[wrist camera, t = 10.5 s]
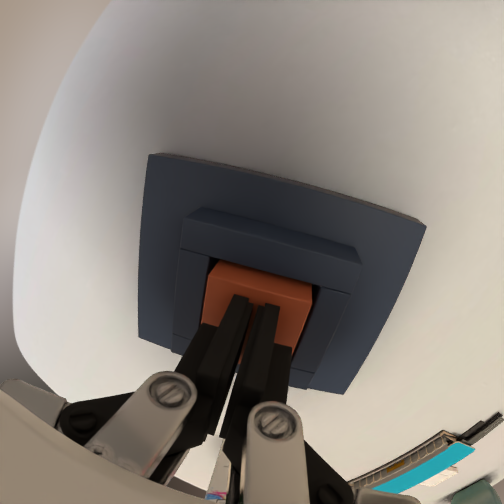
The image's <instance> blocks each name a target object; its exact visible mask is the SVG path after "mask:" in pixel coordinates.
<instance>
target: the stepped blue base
mask: <svg viewBox="0 0 504 504" xmlns="http://www.w3.org/2000/svg"><path fill="white" fill-rule="evenodd" d="M425 230H426V225H424V224H423V223H422V222H420V221H419V220H418V219H416V218H413V217H410V216H407V215H404V214H402V213H399V212H396V211H393V210H390V209H387V208H384V207H381V206H378V205H375V204H372V203H369V202H366V201H363V200H359V199H356V198H353V197H350V196H346V195H343V194H340V193H336V192H333V191H329V190H326V189H322V188H319V187H315V186H312V185H308V184H304V183H301V182H297V181H293V180H289V179H285V178H281V177H277V176H273V175H269V174H265V173H261V172H256V171H252V170H248V169H243V168H239V167H234V166H229V165H224V164H220V163H215V162H210V161H204V160H199V159H194V158H188V157H183V156H177V155H171V154H165V153H156V154H149V156H148V163H147V170H146V178H145V186H144V196H143V206H142V217H141V230H140V246H139V269H138V335H139V338H142V339H144V340H147V341H149V342H152V343H154V344H157V345H160V346H162V347H165V348H168V349H171V352H173V353H176V354H179V355H182V356H183V355H184V353H185V351H186V350H187V348H188V346H189V344H190V342H191V341H192V339H193V337H194V335H195V334H196V332H197V330H198V328H199V327H200V325H201V320H202V313H203V307H204V300H205V293H206V287H207V281H208V275H209V274H210V273H211V271H212V270H213V268H214V267H215V266H216V264H217V263H218V261H219V260H220V259H222V260H226V261H230V262H233V263H237V264H241V265H244V266H248V267H252V268H255V269H259V270H263V271H266V272H270V273H274V274H277V275H281V276H285V277H289V278H292V279H296V280H300V281H304V282H308V283H311V284H312V305H311V308H310V311H309V313H308V316H307V319H306V321H305V324H304V326H303V329H302V332H301V334H300V337H299V339H298V342H297V344H296V347H295V349H294V352H293V354H292V358H291V367H290V376H289V385H288V386H290V387H295V388H300V389H304V390H307V388H309V389H314V390H319V391H325V392H330V393H336V394H342V395H343V394H344V393H345V392H346V390H347V389H348V387H349V385H350V384H351V382H352V381H353V379H354V378H355V376H356V374H357V373H358V371H359V369H360V368H361V366H362V364H363V363H364V361H365V359H366V357H367V356H368V354H369V352H370V350H371V349H372V347H373V345H374V343H375V341H376V340H377V338H378V336H379V334H380V332H381V330H382V328H383V326H384V325H385V323H386V321H387V319H388V317H389V315H390V313H391V311H392V309H393V307H394V304H395V302H396V300H397V298H398V296H399V294H400V292H401V290H402V287H403V285H404V283H405V281H406V278H407V276H408V274H409V271H410V269H411V267H412V264H413V262H414V259H415V257H416V254H417V252H418V249H419V246H420V244H421V241H422V239H423V236H424V233H425ZM239 366H240V364H238V365H237V368H236V371H235V373H238V369H239Z"/></svg>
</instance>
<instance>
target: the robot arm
mask: <svg viewBox="0 0 504 504" xmlns="http://www.w3.org/2000/svg"><path fill="white" fill-rule="evenodd" d="M248 301H249V298H247V297H243V296H240V295H236V294H234V295H233V297H232V299H231V301H230V303H229V306H228V308H227V310H226V312H225V314H224V316H223V318H222V320H221V322H220V324H219V327H217V326H213V325H210V324H207V323H204V322H203V323H202V324H201V325H200V327H199V328H198V330H197V332H196V334H195V335H194V337H193V339H192V341H191V342H190V344H189V346H188V348H187V350H186V351H185V353H184V355H183V357H182V358H181V360H180V362H179V364H178V365H177V367H176V369H175V371H174V372H172V371H163V372H158V373H155V374H153V375H152V376H150V377H149V378H148V379H147V380H146V381H145V382H144V383H143V384H142V385H141V386H140V387H139V388H138V389H137V390H136V391H135V392H131V393H126V394H121V395H115V396H110V397H104V398H98V399H92V400H86V401H79V402H75V403H69V402H67V400H66V398H63V397H60V396H58V395H55V394H52V393H50V392H47V391H45V390H42V389H40V388H38V387H35V386H33V385H30V384H28V383H26V382H24V381H22V380H19V379H8V380H7V381H5V382H3V383H2V384H1V385H0V504H220V503H216V502H213V501H209V500H205V499H202V498H199V497H195V496H192V495H189V494H186V493H183V492H180V491H177V490H174V489H171V488H168V487H166V486H167V485H168V483H169V482H170V480H171V479H172V477H173V476H174V474H175V473H176V471H177V470H178V468H179V467H180V465H181V464H182V462H183V460H184V459H185V457H186V456H187V454H188V453H189V450H190V448H193V447H196V446H199V445H202V443H203V441H204V442H205V440H206V437H207V434H210V435H213V436H214V434H215V431H216V428H217V425H218V422H219V419H220V416H221V413H222V410H223V407H224V404H225V401H226V398H227V395H228V392H229V389H230V386H231V383H232V380H233V377H234V374H235V371H236V368H237V365H238V362H239V358H240V354H241V351H242V347H243V343H244V339H245V336H246V332H247V328H248V324H249V320H250V317H251V313H252V309H253V305H254V304H253V303H250V302H248ZM279 312H280V306H276V305H272V304H269V303H265V306H260V305H258V308H257V312H256V315H255V318H254V321H253V325H252V328H251V331H250V334H249V338H248V341H247V344H246V347H245V350H244V354H243V357H242V360H241V363H240V366H239V369H238V373H237V376H236V379H235V382H234V386H233V389H232V393H231V396H230V400H229V403H228V407H227V410H226V414H225V417H224V421H223V424H222V428H221V431H220V435H219V437H220V438H224V439H225V442H224V445H223V449H222V451H223V453H224V454H225V455H226V457H227V458H228V459H229V461H230V463H229V469H228V480H227V491H226V502H225V504H421V503H420V501H419V500H417V499H416V498H415V497H412V496H408V495H401V494H395V493H389V492H383V491H378V490H373V489H369V488H364V487H359V488H353V487H350V485H349V484H348V483H347V482H346V481H345V480H344V479H343V478H342V477H341V476H340V475H339V474H338V473H337V472H336V471H335V470H334V469H333V468H332V467H331V466H330V465H328V464H327V463H326V462H325V461H324V460H323V459H322V458H321V457H320V456H319V455H318V454H317V453H316V452H315V451H314V450H313V449H312V447H311V446H310V445H309V444H308V443H307V442H306V441H305V440H304V436H303V427H302V421H301V418H300V416H299V415H298V413H297V412H296V411H295V410H294V409H293V408H291V407H290V406H288V405H286V402H287V393H288V385H289V376H290V367H291V358H292V347H289V346H285V345H281V344H277V343H274V340H275V334H276V329H277V323H278V318H279Z"/></svg>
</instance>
